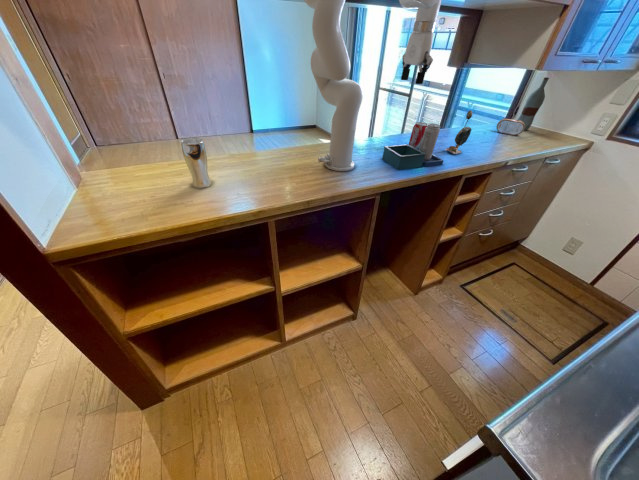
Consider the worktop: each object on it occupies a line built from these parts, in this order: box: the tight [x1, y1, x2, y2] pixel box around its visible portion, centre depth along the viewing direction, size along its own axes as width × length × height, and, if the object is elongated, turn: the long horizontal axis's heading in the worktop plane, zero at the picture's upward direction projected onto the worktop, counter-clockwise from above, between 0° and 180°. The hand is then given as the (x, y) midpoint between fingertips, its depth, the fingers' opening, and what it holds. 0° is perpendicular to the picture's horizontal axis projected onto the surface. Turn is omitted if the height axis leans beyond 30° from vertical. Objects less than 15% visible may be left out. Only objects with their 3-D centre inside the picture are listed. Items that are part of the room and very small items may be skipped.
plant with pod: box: [445, 110, 474, 155], centre depth 128 cm, size 8×11×20 cm
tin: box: [496, 118, 525, 136], centre depth 164 cm, size 15×3×8 cm, turn 58°
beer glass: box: [180, 137, 212, 189], centre depth 88 cm, size 7×7×15 cm
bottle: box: [516, 76, 550, 132], centre depth 169 cm, size 9×9×30 cm
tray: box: [422, 154, 445, 168], centre depth 122 cm, size 10×14×2 cm
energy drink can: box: [419, 123, 441, 161], centre depth 118 cm, size 6×6×15 cm
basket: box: [381, 143, 426, 171], centre depth 117 cm, size 13×13×6 cm
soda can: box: [408, 121, 429, 150], centre depth 132 cm, size 7×7×12 cm
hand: (411, 81), depth 108 cm, fingers open, 9 cm apart
